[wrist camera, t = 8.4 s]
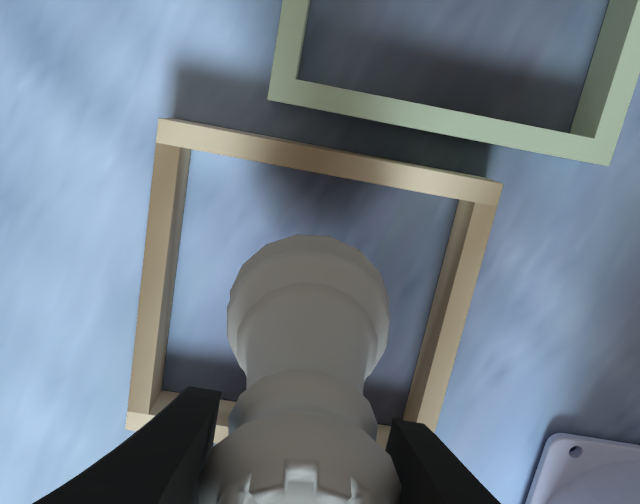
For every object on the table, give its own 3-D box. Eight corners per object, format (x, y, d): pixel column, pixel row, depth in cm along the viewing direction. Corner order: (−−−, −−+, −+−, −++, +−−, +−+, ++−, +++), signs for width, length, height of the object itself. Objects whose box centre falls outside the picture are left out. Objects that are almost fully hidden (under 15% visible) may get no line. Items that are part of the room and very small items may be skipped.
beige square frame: (486, 177, 17) (503, 184, 16) (414, 446, 20) (423, 474, 18) (172, 117, 17) (158, 118, 15) (140, 404, 19) (125, 429, 18)
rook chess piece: (217, 239, 14) (101, 442, 7) (379, 218, 14) (445, 403, 7) (246, 376, 16) (179, 665, 8) (393, 359, 16) (460, 641, 8)
